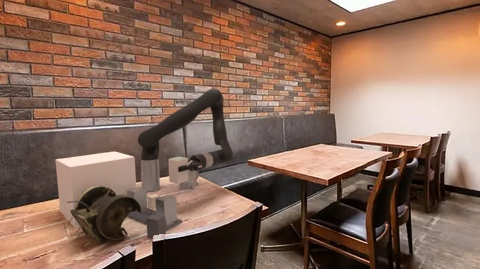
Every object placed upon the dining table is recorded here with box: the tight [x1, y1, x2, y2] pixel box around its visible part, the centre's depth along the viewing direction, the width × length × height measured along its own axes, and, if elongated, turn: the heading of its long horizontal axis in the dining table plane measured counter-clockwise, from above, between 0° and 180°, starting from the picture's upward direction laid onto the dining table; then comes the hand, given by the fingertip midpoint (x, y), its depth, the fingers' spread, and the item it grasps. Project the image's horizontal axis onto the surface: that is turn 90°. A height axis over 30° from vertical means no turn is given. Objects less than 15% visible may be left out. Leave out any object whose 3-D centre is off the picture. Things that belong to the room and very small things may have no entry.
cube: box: [55, 151, 137, 229], centre depth 118 cm, size 25×21×24 cm
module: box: [168, 156, 189, 185], centre depth 116 cm, size 6×6×10 cm
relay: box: [146, 214, 167, 239], centre depth 96 cm, size 5×4×7 cm
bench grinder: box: [64, 186, 141, 247], centre depth 95 cm, size 20×22×20 cm
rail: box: [127, 186, 183, 231], centre depth 109 cm, size 26×9×11 cm, turn 55°
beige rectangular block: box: [147, 193, 161, 210], centre depth 123 cm, size 4×4×5 cm
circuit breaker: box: [179, 170, 200, 191], centre depth 152 cm, size 8×14×15 cm, turn 174°
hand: (173, 168), depth 114 cm, fingers closed on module, 5 cm apart
